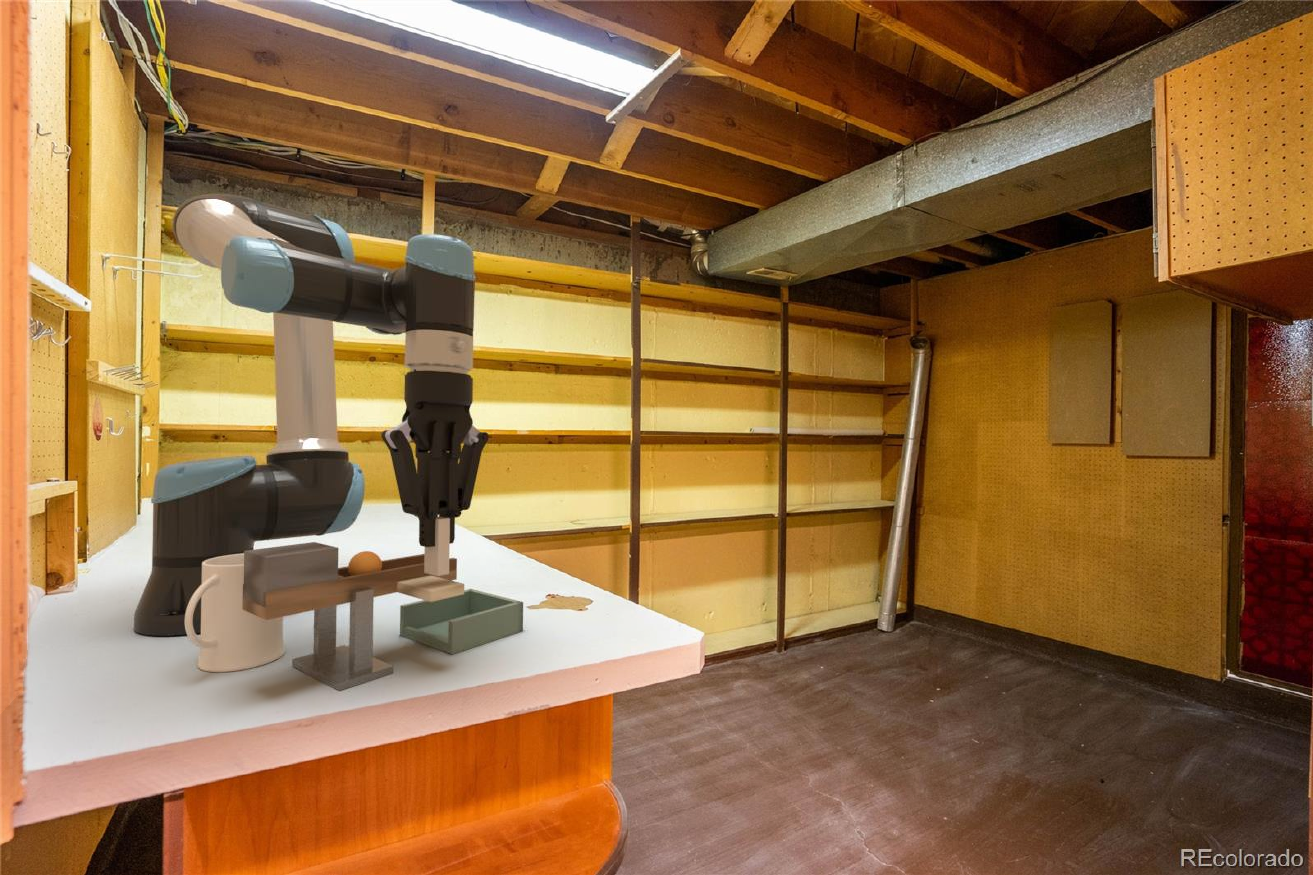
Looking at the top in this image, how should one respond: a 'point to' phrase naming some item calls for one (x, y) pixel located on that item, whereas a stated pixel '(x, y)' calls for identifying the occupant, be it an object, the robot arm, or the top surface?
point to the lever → (330, 580)
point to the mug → (230, 621)
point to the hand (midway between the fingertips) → (436, 573)
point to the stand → (344, 646)
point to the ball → (364, 563)
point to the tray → (461, 620)
